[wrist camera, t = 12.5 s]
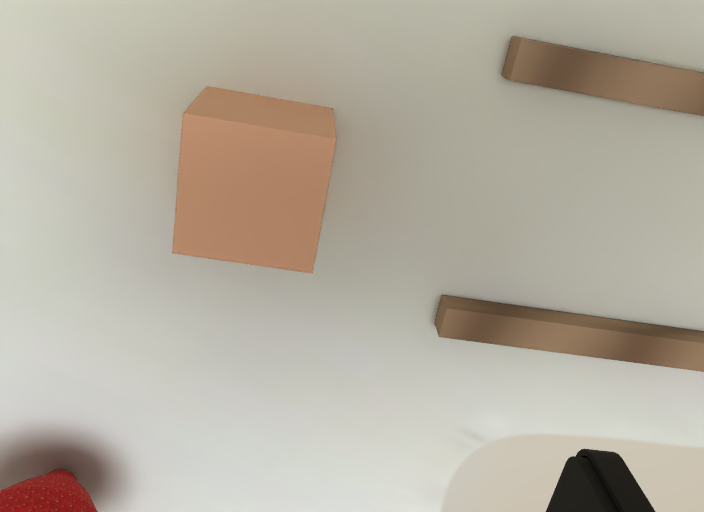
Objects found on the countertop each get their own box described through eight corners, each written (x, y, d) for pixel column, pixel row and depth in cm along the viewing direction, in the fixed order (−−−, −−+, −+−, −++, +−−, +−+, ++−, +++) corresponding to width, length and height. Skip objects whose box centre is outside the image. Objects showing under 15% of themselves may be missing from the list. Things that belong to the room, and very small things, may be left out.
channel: (961, 122, 27) (987, 129, 26) (816, 374, 32) (833, 388, 31) (512, 35, 25) (521, 39, 24) (434, 323, 30) (438, 336, 29)
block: (332, 108, 26) (336, 139, 21) (313, 222, 28) (312, 273, 23) (207, 85, 25) (183, 113, 21) (196, 204, 27) (172, 253, 23)
